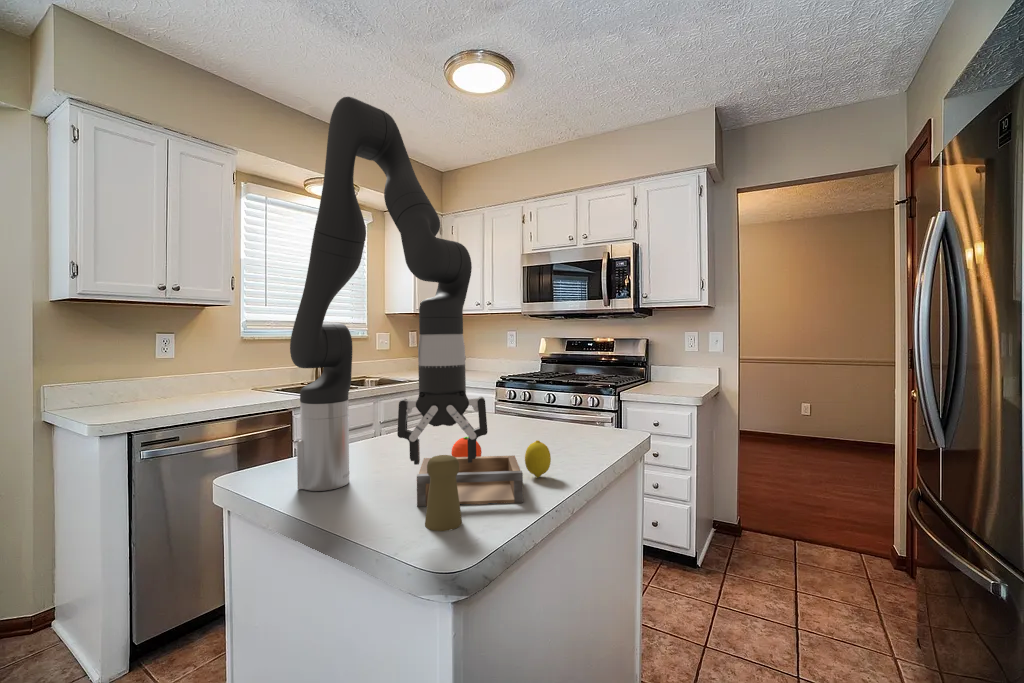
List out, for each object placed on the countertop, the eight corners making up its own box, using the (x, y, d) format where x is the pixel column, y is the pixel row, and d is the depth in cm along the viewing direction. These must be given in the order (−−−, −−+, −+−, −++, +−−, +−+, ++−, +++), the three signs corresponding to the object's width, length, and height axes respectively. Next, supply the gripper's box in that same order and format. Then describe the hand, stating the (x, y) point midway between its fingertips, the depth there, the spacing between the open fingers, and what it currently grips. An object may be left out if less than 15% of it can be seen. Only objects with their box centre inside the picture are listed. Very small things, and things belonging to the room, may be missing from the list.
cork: (426, 517, 81) (426, 452, 81) (462, 515, 82) (462, 451, 82) (422, 531, 75) (422, 461, 75) (461, 530, 76) (461, 460, 76)
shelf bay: (417, 506, 86) (416, 476, 86) (424, 482, 100) (423, 455, 100) (522, 502, 88) (522, 472, 88) (514, 478, 102) (514, 453, 102)
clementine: (458, 461, 116) (458, 432, 116) (486, 463, 115) (485, 433, 115) (447, 471, 108) (447, 439, 108) (477, 472, 107) (476, 440, 107)
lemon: (550, 474, 106) (550, 437, 105) (550, 481, 100) (550, 443, 100) (525, 473, 106) (525, 437, 106) (523, 481, 101) (523, 443, 100)
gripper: (393, 364, 74) (395, 470, 74) (486, 362, 75) (488, 467, 75) (400, 362, 81) (402, 458, 81) (485, 360, 82) (486, 455, 82)
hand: (443, 462), depth 78 cm, fingers open, 8 cm apart
